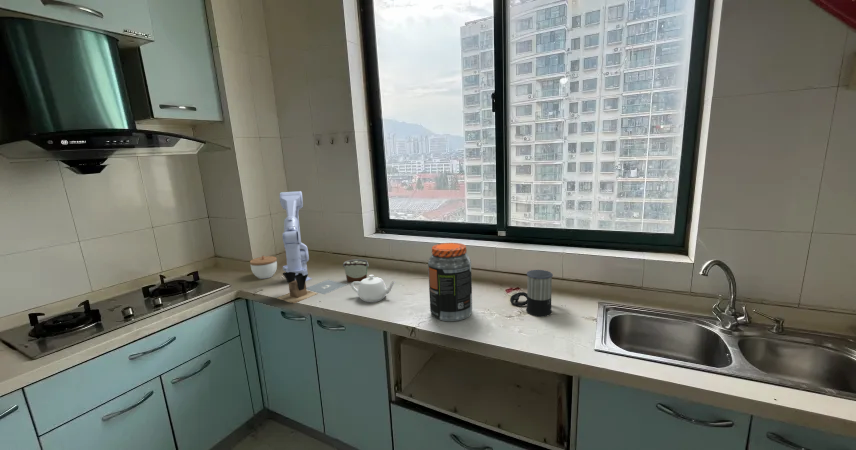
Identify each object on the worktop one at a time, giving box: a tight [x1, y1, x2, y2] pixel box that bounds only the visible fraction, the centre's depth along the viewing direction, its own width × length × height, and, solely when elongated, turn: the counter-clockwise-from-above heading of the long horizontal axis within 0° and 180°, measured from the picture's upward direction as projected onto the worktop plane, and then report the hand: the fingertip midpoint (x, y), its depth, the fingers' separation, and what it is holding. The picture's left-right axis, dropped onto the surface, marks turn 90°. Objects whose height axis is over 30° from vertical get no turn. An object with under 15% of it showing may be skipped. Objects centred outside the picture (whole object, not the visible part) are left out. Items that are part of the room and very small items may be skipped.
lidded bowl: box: [249, 255, 278, 280], centre depth 186 cm, size 13×13×11 cm
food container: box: [342, 258, 369, 283], centre depth 175 cm, size 12×6×10 cm, turn 84°
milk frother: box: [509, 269, 554, 317], centre depth 136 cm, size 14×16×15 cm
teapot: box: [350, 274, 396, 303], centre depth 152 cm, size 20×12×10 cm, turn 76°
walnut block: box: [288, 280, 308, 298], centre depth 158 cm, size 5×5×6 cm
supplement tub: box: [427, 242, 473, 322], centre depth 133 cm, size 16×16×26 cm
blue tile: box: [306, 279, 348, 295], centre depth 168 cm, size 14×14×1 cm
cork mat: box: [277, 290, 319, 305], centre depth 158 cm, size 12×12×1 cm
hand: (296, 288), depth 157 cm, fingers open, 6 cm apart
